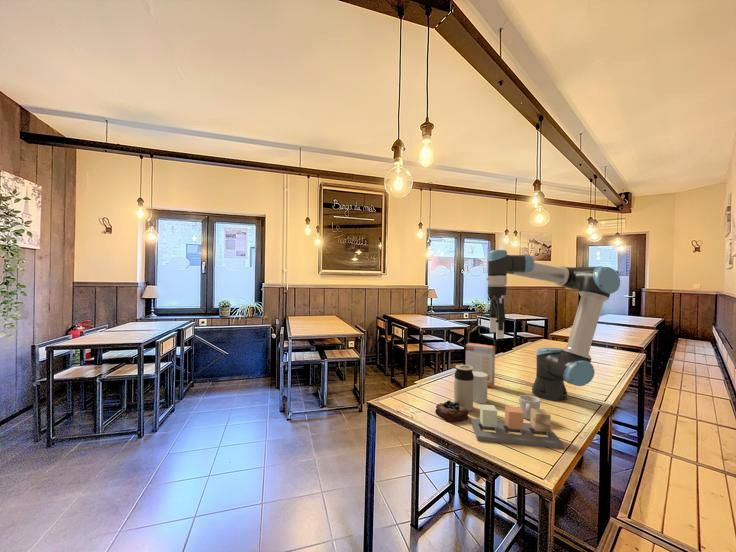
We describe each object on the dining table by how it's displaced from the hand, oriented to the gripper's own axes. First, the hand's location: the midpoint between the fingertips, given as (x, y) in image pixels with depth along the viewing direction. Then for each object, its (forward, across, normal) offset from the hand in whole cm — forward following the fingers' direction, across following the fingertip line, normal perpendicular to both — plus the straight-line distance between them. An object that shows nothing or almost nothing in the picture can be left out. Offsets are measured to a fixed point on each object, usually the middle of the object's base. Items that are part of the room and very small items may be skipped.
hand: (496, 335), depth 140 cm
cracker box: (+33, -33, -1) cm, 47 cm away
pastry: (+33, +10, -19) cm, 39 cm away
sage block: (+29, +22, -7) cm, 37 cm away
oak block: (+29, +22, +11) cm, 38 cm away
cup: (+33, +6, +12) cm, 35 cm away
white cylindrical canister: (+33, -10, -6) cm, 35 cm away
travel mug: (+32, +1, -14) cm, 35 cm away
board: (+32, +22, +2) cm, 39 cm away
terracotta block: (+29, +22, +2) cm, 36 cm away
